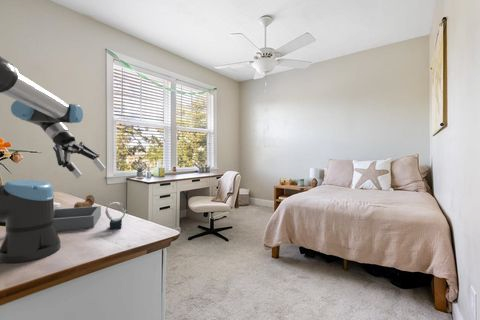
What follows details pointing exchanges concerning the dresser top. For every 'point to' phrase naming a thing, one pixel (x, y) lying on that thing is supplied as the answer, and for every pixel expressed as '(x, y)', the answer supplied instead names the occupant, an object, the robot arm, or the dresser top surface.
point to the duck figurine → (56, 205)
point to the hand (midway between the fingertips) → (92, 172)
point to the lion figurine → (85, 202)
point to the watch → (116, 222)
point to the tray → (76, 218)
